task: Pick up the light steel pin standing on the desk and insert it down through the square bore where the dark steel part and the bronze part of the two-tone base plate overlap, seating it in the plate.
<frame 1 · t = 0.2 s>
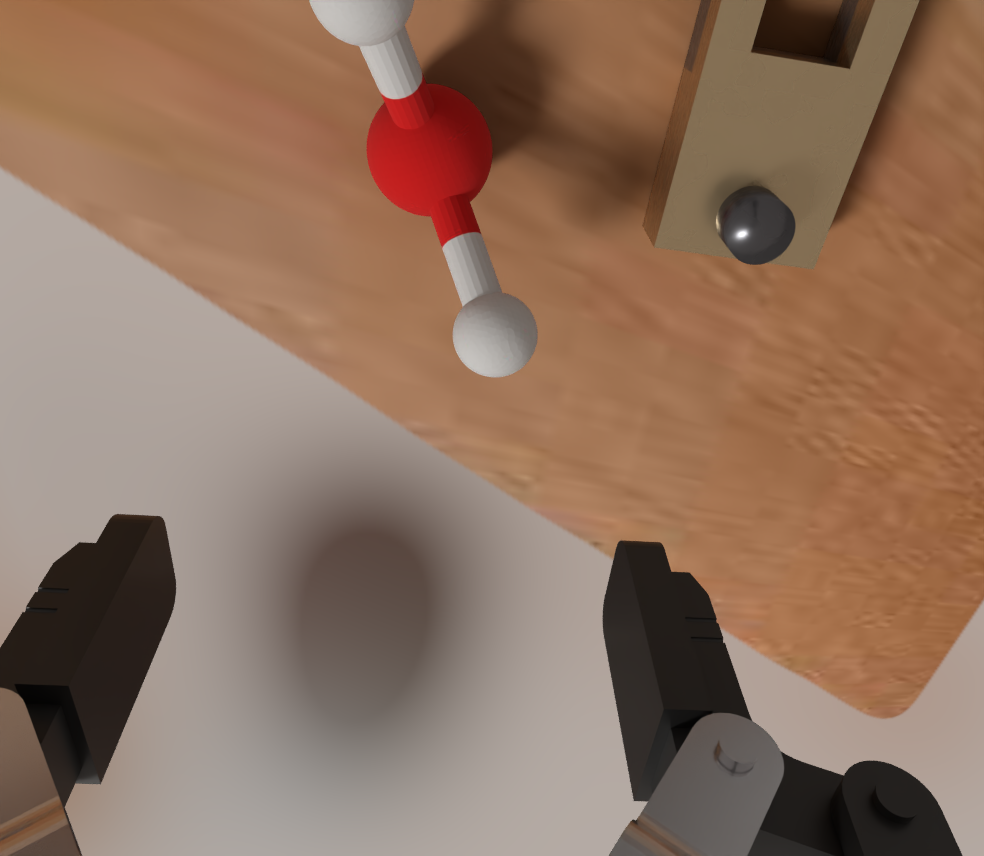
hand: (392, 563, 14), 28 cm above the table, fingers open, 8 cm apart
molecular model: (435, 134, 38), on the table
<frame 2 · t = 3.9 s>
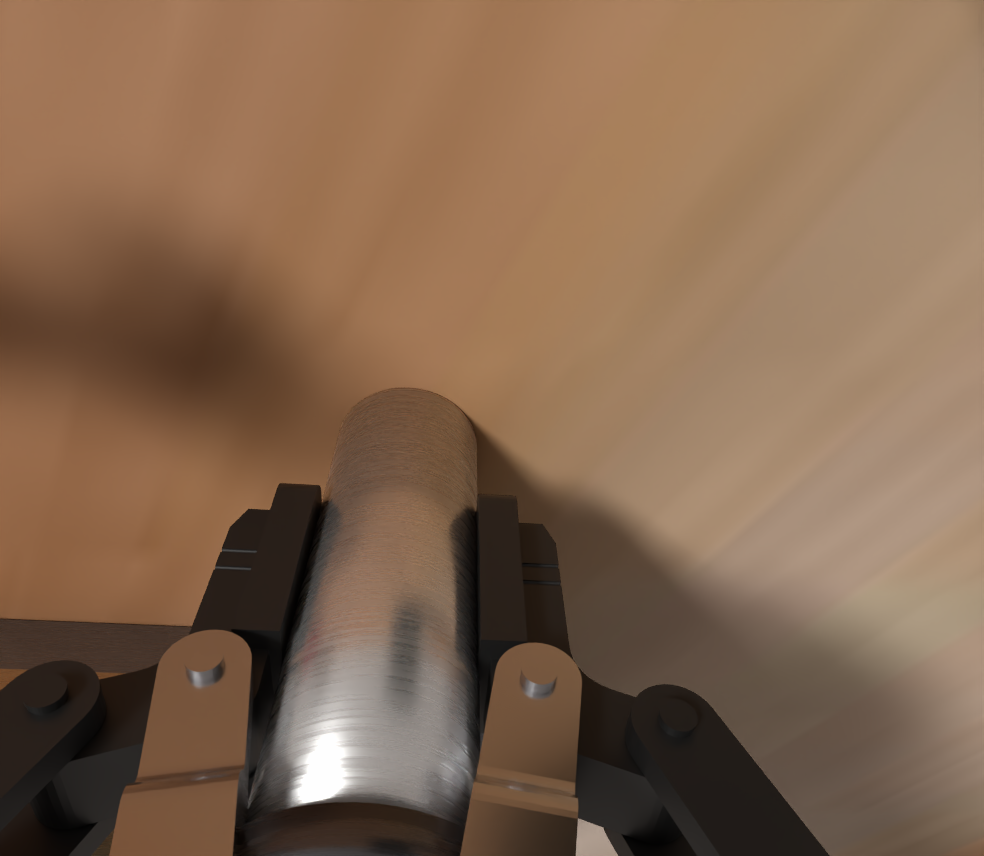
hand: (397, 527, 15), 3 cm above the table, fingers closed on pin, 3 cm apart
pin: (407, 447, 17), on the table, touching gripper
two-tone base plate: (112, 721, 22), on the table
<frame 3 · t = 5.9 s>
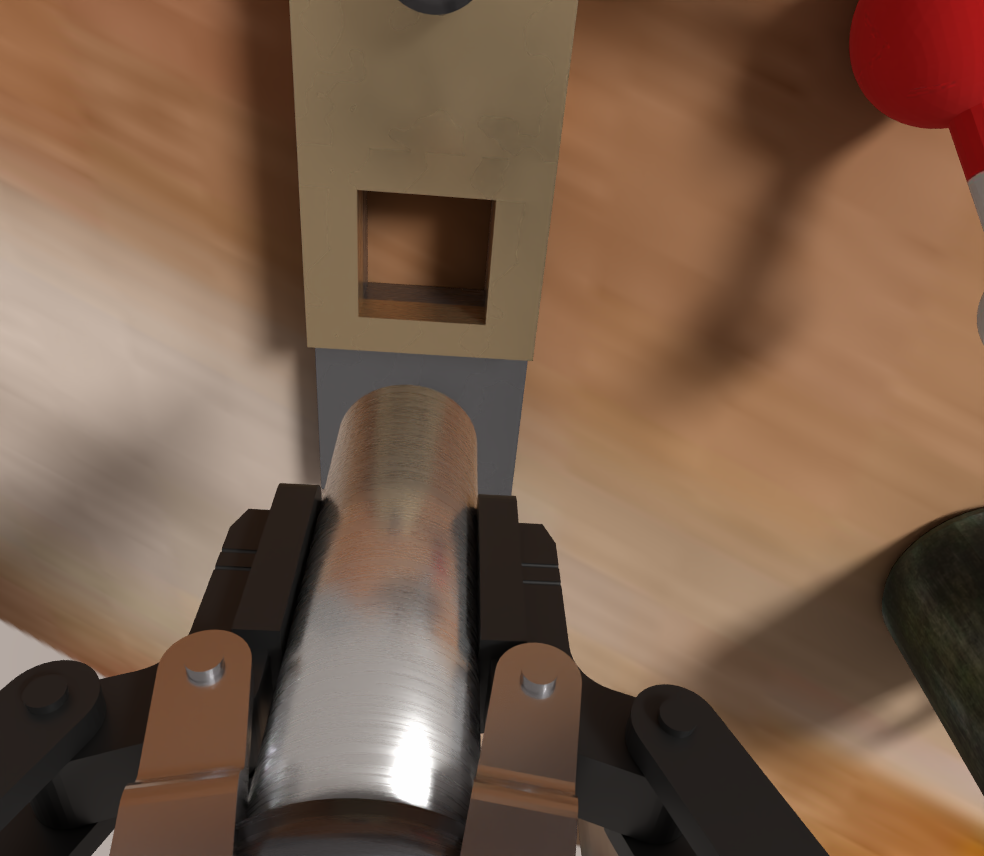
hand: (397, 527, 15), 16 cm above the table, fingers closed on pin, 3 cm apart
pin: (407, 444, 17), point 14 cm above the table, touching gripper
two-tone base plate: (428, 229, 29), on the table
molecular model: (901, 16, 25), on the table
when the fingers open (4 cm above the table, at t = 8.4 s): pin drops 1 cm, resting in two-tone base plate.
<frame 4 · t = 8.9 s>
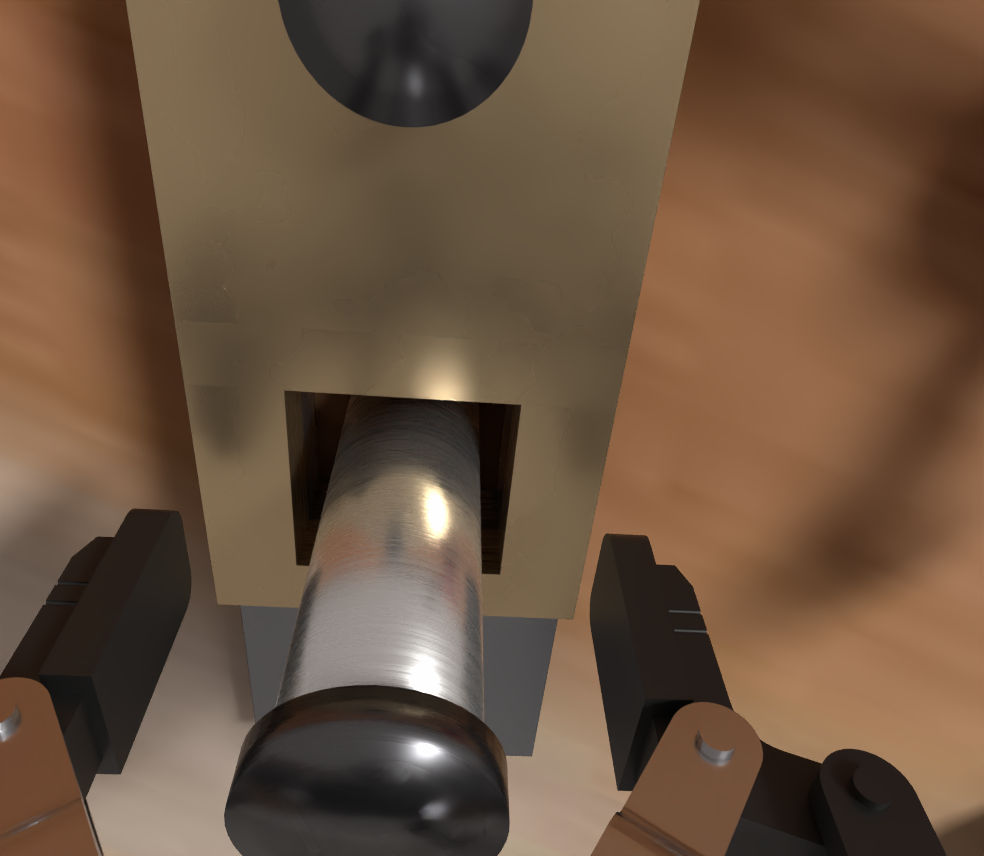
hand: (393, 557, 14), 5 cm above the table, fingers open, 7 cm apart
pin: (414, 408, 18), resting in two-tone base plate
two-tone base plate: (410, 410, 18), on the table
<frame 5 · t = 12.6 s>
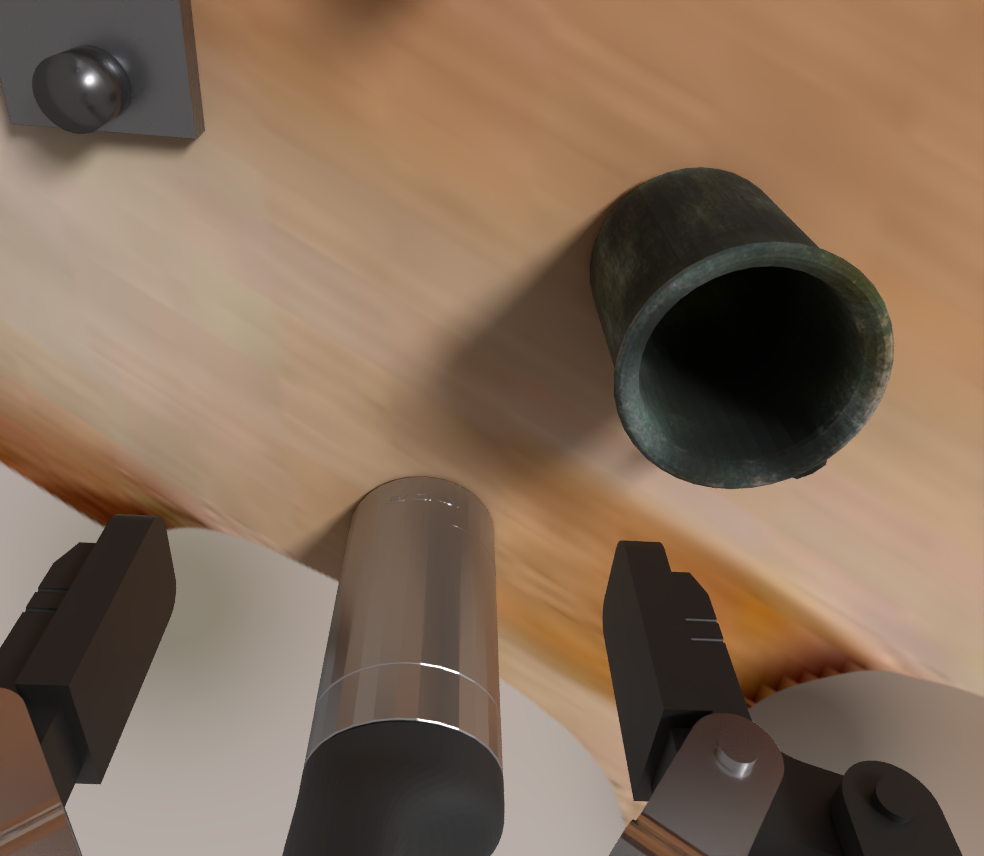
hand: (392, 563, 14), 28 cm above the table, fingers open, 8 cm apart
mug: (699, 285, 42), on the table
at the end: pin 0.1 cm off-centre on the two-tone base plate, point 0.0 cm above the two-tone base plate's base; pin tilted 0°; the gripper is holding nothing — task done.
